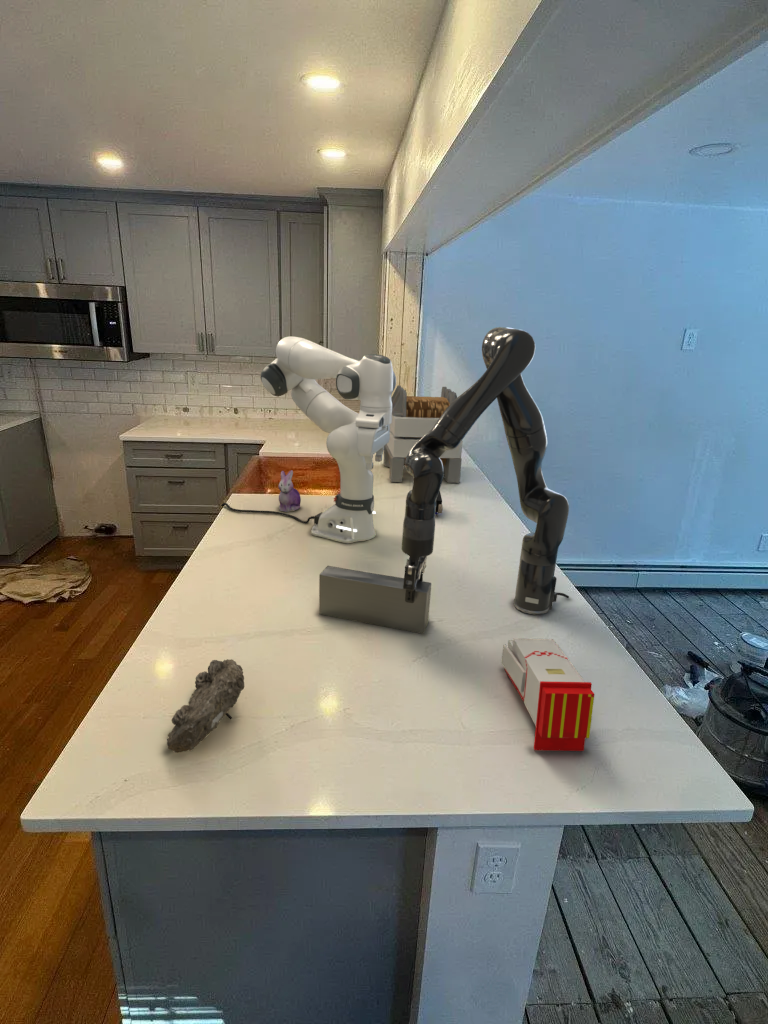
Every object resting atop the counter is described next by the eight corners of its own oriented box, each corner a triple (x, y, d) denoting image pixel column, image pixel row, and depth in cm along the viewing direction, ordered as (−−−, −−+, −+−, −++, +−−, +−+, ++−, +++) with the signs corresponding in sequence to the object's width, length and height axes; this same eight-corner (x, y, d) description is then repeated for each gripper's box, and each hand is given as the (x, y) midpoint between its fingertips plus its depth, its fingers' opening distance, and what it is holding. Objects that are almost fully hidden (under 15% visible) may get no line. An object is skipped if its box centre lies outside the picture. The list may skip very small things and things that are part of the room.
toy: (549, 621, 128) (604, 690, 99) (544, 676, 131) (595, 758, 101) (496, 620, 128) (535, 688, 98) (492, 675, 130) (528, 757, 101)
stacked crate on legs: (382, 463, 289) (386, 382, 275) (445, 464, 293) (451, 384, 279) (390, 482, 257) (394, 392, 243) (460, 483, 261) (468, 394, 247)
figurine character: (442, 522, 216) (438, 505, 229) (444, 504, 213) (440, 488, 226) (425, 521, 216) (422, 504, 229) (426, 504, 212) (423, 487, 226)
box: (319, 614, 146) (319, 574, 142) (327, 603, 151) (327, 565, 147) (423, 634, 139) (426, 592, 135) (428, 622, 144) (431, 582, 140)
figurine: (281, 513, 213) (281, 475, 208) (273, 505, 222) (272, 468, 217) (305, 510, 217) (305, 473, 212) (296, 502, 226) (296, 466, 221)
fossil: (192, 660, 117) (244, 628, 112) (224, 691, 120) (276, 661, 115) (142, 746, 98) (202, 712, 93) (182, 779, 101) (242, 748, 96)
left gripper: (375, 409, 166) (373, 455, 170) (353, 421, 147) (352, 472, 151) (396, 411, 164) (393, 457, 169) (376, 423, 145) (375, 475, 150)
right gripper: (428, 546, 126) (422, 610, 132) (439, 525, 139) (434, 584, 145) (395, 541, 128) (391, 604, 134) (410, 521, 141) (405, 579, 147)
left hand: (374, 465), depth 160 cm, fingers open, 8 cm apart
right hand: (413, 594), depth 139 cm, fingers open, 8 cm apart
